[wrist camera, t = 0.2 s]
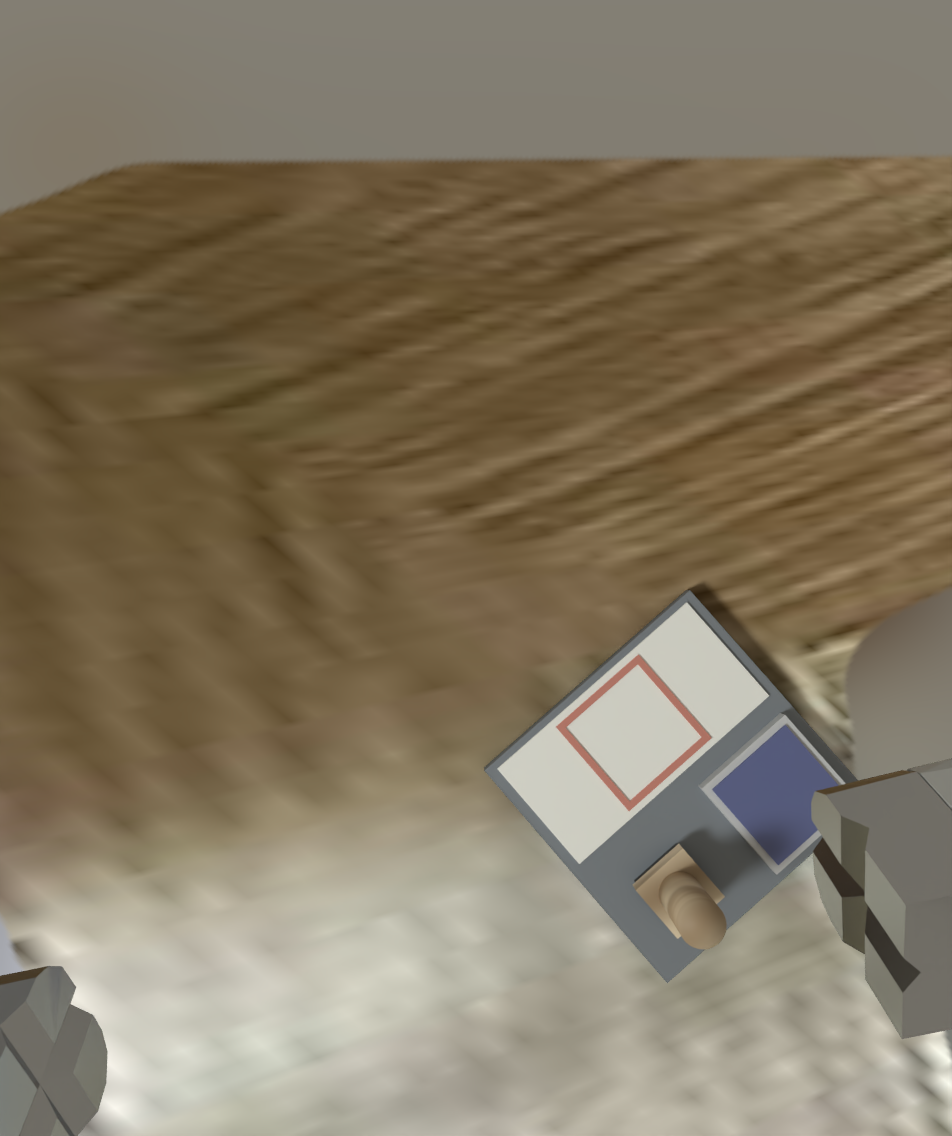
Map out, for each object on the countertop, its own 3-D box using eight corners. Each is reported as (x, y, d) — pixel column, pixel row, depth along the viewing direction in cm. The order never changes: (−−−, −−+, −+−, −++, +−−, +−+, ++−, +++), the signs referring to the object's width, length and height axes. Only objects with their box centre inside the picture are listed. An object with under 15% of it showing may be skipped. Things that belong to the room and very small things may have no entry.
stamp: (716, 886, 60) (752, 928, 52) (670, 927, 60) (699, 975, 52) (675, 839, 61) (705, 874, 53) (629, 879, 60) (653, 921, 52)
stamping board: (865, 794, 62) (881, 802, 59) (663, 975, 61) (671, 990, 59) (685, 590, 63) (694, 589, 60) (484, 767, 62) (484, 773, 60)
